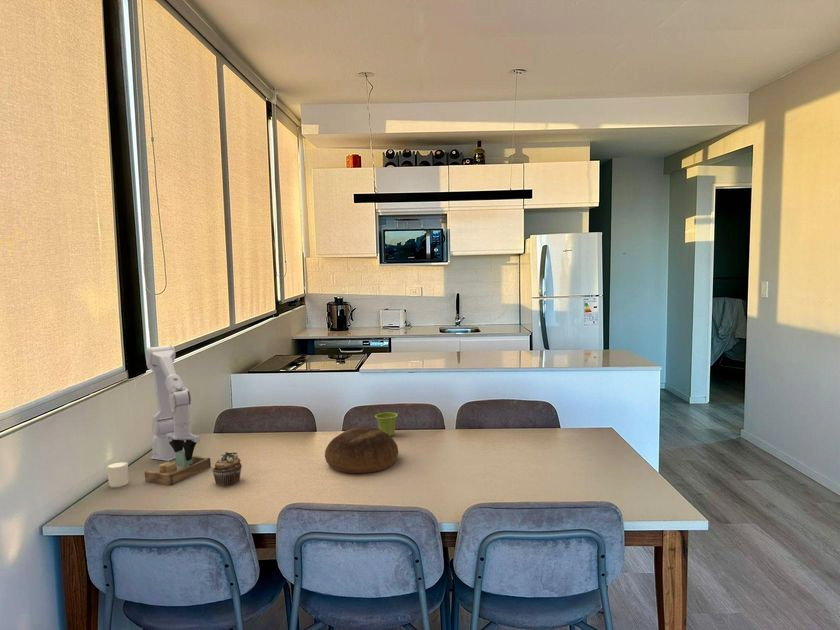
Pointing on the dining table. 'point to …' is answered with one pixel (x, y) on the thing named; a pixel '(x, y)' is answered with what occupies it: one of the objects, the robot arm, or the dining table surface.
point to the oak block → (168, 468)
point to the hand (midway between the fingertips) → (184, 459)
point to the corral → (179, 472)
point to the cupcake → (227, 469)
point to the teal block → (182, 459)
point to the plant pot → (387, 422)
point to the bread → (361, 451)
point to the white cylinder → (117, 474)
